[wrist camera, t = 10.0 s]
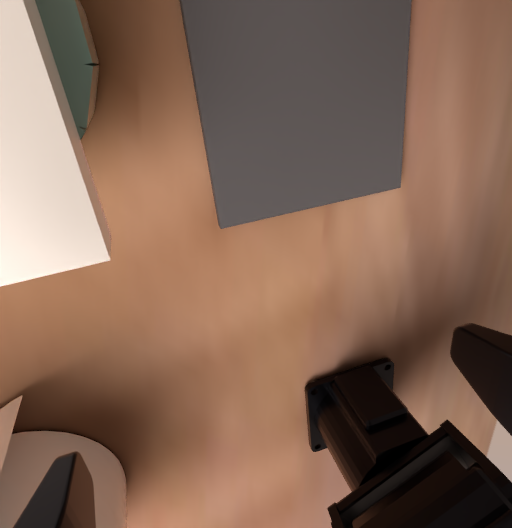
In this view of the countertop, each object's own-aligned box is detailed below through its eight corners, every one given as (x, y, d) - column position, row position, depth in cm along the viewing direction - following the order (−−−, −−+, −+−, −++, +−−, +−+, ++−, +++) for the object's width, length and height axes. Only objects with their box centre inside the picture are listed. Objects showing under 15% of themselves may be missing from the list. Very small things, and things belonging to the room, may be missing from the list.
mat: (395, 185, 22) (400, 187, 21) (218, 225, 20) (220, 228, 19) (415, -207, 15) (424, -215, 14) (142, -209, 13) (143, -219, 12)
